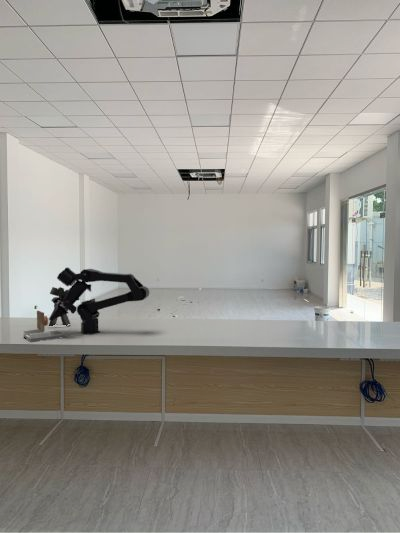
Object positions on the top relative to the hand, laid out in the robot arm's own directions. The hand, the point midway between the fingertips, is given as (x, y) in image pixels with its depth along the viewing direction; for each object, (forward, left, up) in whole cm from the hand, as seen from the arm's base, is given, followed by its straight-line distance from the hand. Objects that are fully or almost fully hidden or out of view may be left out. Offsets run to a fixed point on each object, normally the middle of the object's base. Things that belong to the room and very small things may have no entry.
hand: (49, 320), depth 169 cm
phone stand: (-11, -21, -7) cm, 24 cm away
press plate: (+3, 0, -4) cm, 5 cm away
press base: (+2, 0, -7) cm, 8 cm away
